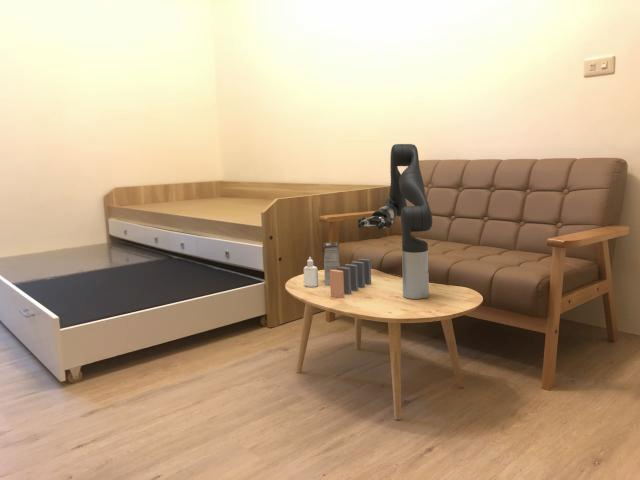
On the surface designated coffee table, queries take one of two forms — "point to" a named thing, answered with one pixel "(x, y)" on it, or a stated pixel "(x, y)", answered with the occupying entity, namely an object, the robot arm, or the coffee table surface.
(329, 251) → the coffee box
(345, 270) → the domino
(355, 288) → the domino
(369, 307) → the coffee table surface
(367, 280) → the domino
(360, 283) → the domino
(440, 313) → the coffee table surface
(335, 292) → the domino
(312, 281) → the eye dropper bottle
